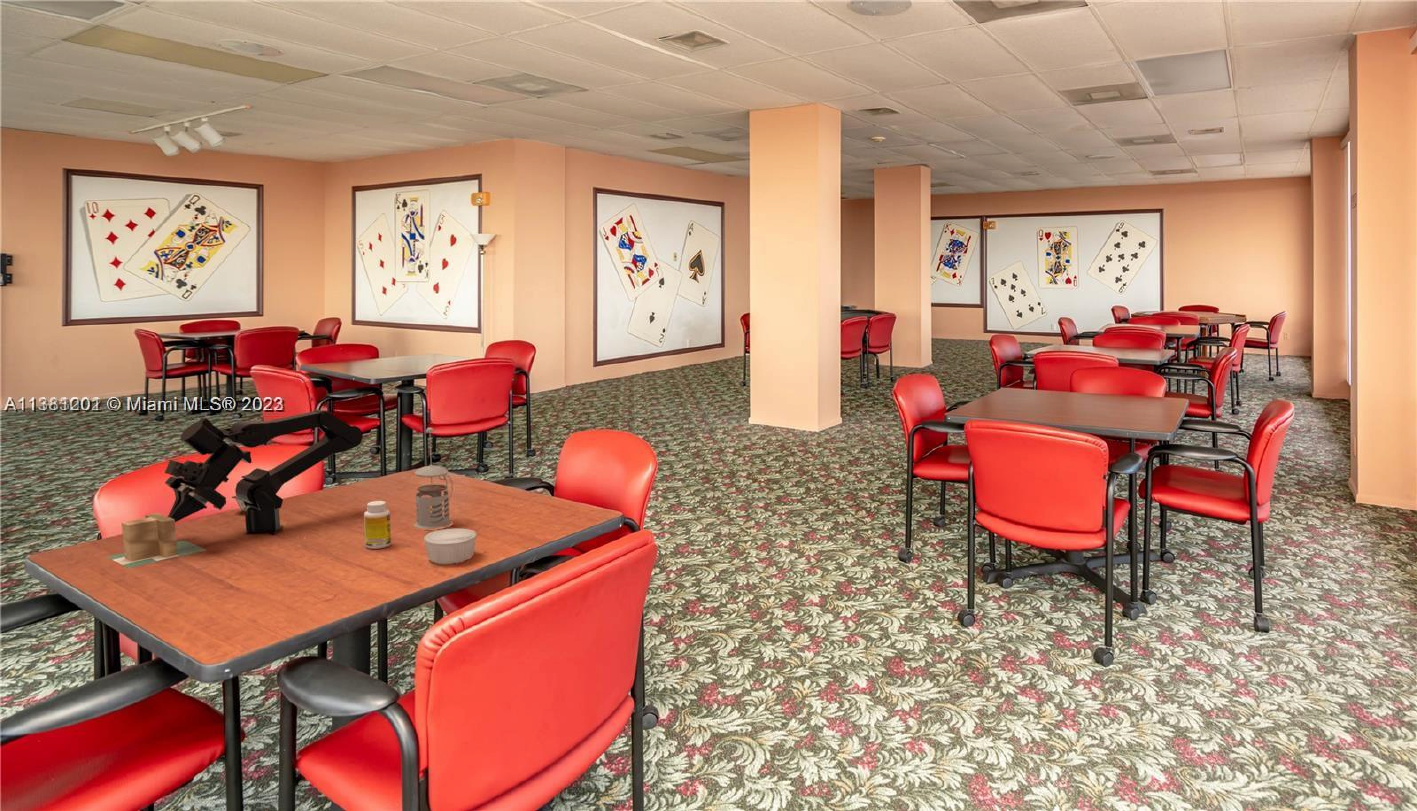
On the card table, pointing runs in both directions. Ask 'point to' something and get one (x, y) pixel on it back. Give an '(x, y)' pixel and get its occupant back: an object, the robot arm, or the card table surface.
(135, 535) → the oak t block
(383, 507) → the supplement bottle
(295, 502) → the card table surface
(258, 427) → the robot arm
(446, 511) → the french press
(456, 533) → the ramekin
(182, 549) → the board
